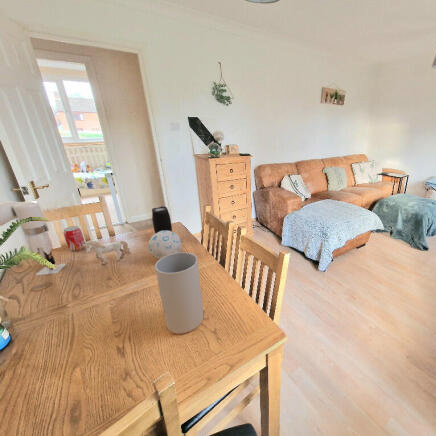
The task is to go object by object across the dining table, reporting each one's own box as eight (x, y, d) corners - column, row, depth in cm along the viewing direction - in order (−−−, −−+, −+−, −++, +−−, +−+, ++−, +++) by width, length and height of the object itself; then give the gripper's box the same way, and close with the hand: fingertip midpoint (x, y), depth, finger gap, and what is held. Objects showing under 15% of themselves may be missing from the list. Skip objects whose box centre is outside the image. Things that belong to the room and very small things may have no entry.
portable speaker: (172, 241, 140) (167, 210, 133) (154, 243, 137) (148, 211, 130) (174, 235, 148) (169, 205, 140) (157, 236, 145) (151, 206, 137)
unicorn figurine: (81, 267, 112) (72, 242, 107) (127, 252, 127) (122, 229, 122) (86, 273, 109) (77, 248, 103) (133, 257, 123) (127, 233, 118)
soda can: (69, 247, 128) (62, 227, 124) (86, 244, 132) (80, 224, 128) (68, 253, 123) (61, 232, 119) (86, 249, 127) (79, 229, 123)
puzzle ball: (189, 256, 126) (185, 231, 121) (161, 269, 114) (156, 241, 109) (172, 247, 134) (168, 223, 128) (144, 258, 122) (139, 232, 116)
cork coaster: (28, 288, 98) (28, 287, 98) (47, 280, 103) (47, 279, 103) (35, 292, 96) (34, 292, 95) (54, 284, 101) (53, 284, 100)
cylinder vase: (177, 307, 93) (168, 251, 83) (209, 309, 92) (203, 253, 83) (159, 333, 81) (146, 271, 72) (195, 336, 81) (186, 275, 71)
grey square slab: (35, 275, 106) (33, 271, 105) (46, 265, 113) (44, 262, 112) (57, 272, 108) (55, 269, 107) (66, 263, 115) (65, 260, 114)
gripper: (28, 225, 107) (42, 259, 114) (18, 238, 96) (35, 275, 103) (51, 221, 111) (63, 255, 118) (44, 234, 100) (59, 270, 107)
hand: (50, 265), depth 111 cm, fingers closed
